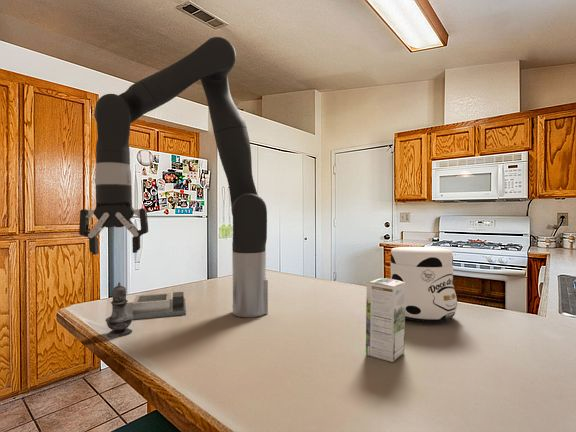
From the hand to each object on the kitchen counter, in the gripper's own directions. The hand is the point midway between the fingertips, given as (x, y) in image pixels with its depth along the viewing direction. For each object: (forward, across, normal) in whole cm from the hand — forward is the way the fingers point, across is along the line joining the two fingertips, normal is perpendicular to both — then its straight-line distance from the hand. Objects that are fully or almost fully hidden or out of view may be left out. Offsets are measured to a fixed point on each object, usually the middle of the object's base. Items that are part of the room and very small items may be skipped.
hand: (115, 253), depth 79 cm
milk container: (+20, -76, +6) cm, 79 cm away
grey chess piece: (+19, -1, 0) cm, 19 cm away
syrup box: (+20, -55, +26) cm, 64 cm away
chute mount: (+19, -5, -17) cm, 26 cm away
